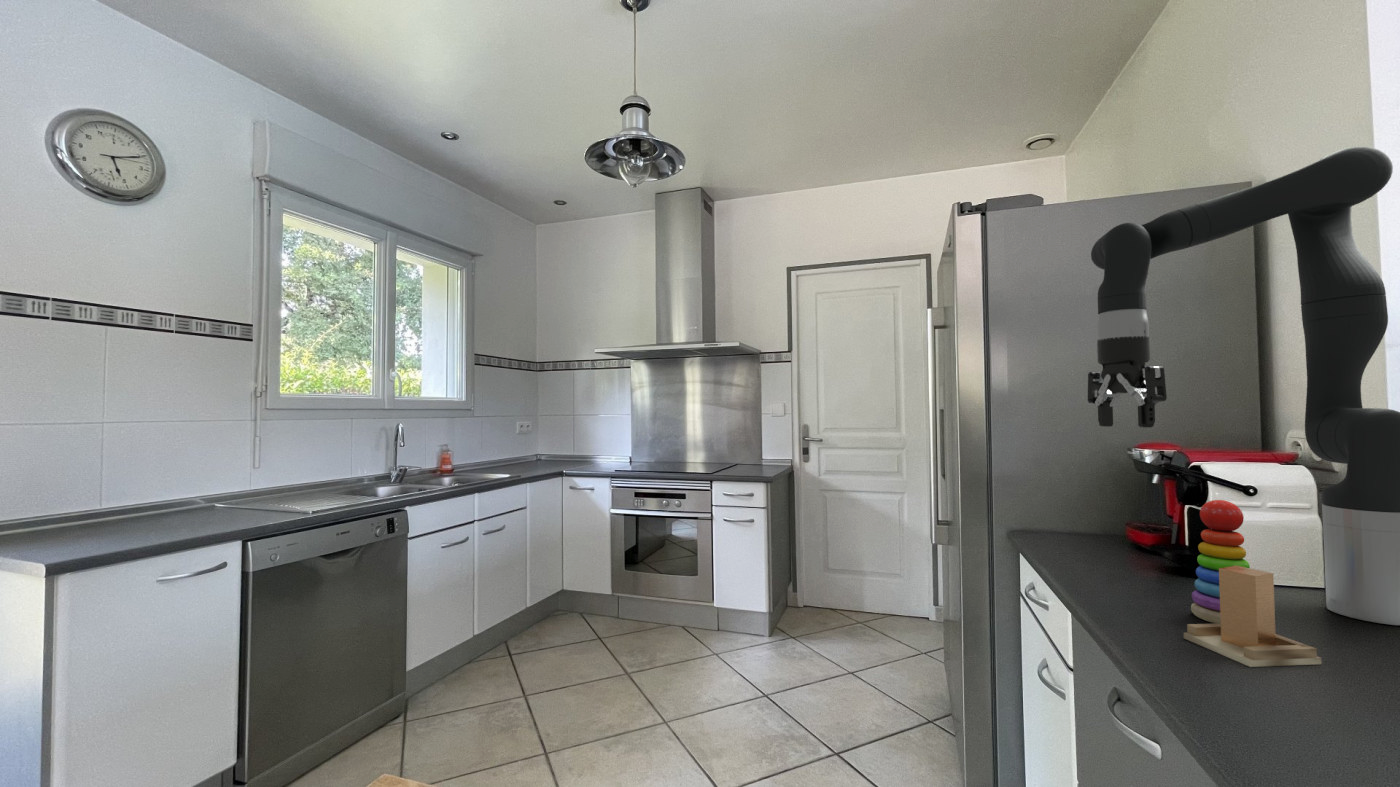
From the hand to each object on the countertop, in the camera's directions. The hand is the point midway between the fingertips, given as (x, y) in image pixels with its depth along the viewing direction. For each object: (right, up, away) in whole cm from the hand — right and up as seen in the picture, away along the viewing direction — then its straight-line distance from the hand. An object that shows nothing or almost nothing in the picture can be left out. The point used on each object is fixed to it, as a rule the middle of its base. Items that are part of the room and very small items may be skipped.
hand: (1125, 426), depth 99 cm
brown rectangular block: (-1, -29, -24) cm, 37 cm away
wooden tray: (-1, -29, -24) cm, 38 cm away
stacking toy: (+6, -30, -13) cm, 33 cm away
